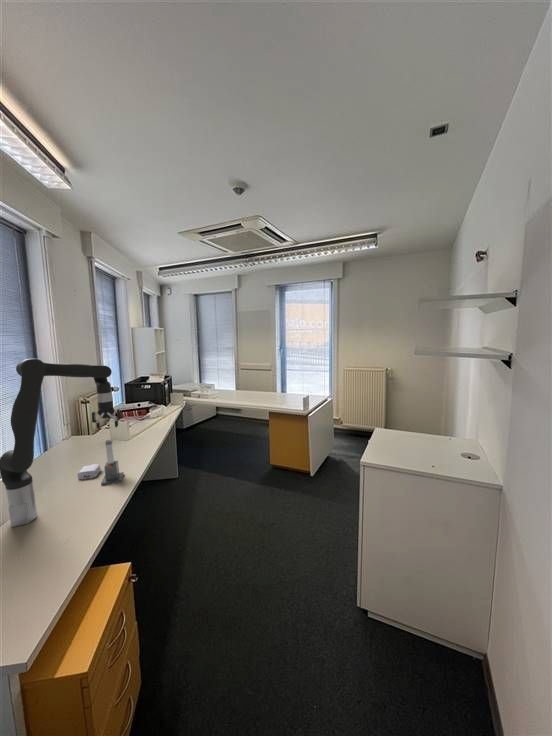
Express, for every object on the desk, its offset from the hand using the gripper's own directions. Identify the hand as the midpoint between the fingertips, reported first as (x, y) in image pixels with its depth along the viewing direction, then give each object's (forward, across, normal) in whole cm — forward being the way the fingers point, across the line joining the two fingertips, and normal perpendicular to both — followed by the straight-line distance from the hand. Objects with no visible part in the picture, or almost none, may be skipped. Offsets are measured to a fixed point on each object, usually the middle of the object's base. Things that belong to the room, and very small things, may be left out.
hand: (107, 428), depth 164 cm
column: (+24, 0, 0) cm, 24 cm away
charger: (+32, -14, +16) cm, 38 cm away
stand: (+31, 0, 0) cm, 31 cm away
